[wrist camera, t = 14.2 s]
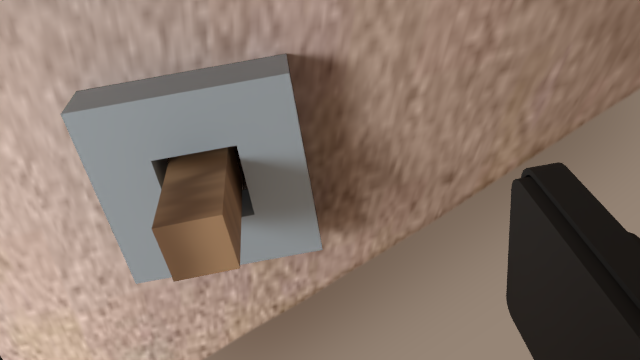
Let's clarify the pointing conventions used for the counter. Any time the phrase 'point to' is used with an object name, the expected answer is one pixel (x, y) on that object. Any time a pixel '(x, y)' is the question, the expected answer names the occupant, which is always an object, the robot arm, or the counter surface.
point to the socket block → (192, 137)
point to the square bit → (200, 214)
